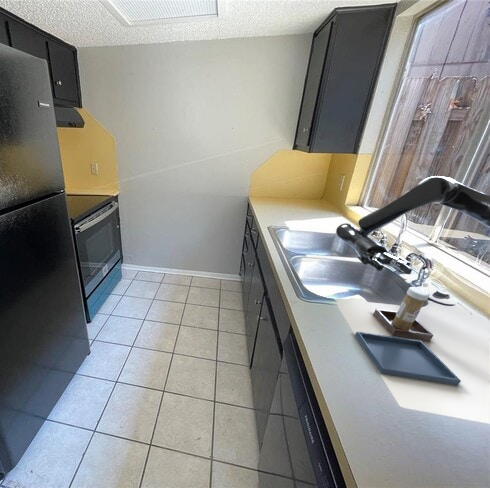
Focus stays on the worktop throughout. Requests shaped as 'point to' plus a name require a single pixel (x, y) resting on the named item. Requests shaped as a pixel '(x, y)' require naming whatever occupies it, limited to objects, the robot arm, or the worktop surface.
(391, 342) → the tray
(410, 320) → the sprinkles bottle
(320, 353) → the worktop surface
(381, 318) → the bin
